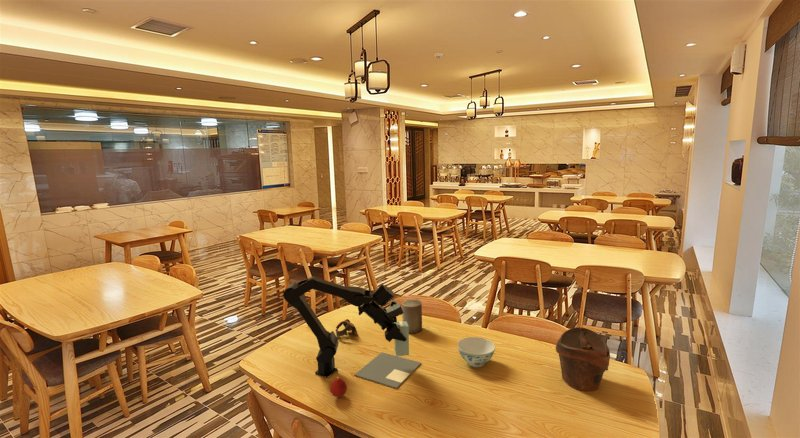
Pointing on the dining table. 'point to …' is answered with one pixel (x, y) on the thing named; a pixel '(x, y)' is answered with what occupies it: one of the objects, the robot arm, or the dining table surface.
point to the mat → (388, 370)
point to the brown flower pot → (582, 358)
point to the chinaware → (476, 350)
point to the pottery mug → (347, 326)
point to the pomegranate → (338, 387)
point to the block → (402, 346)
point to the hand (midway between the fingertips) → (404, 337)
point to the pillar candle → (412, 315)
